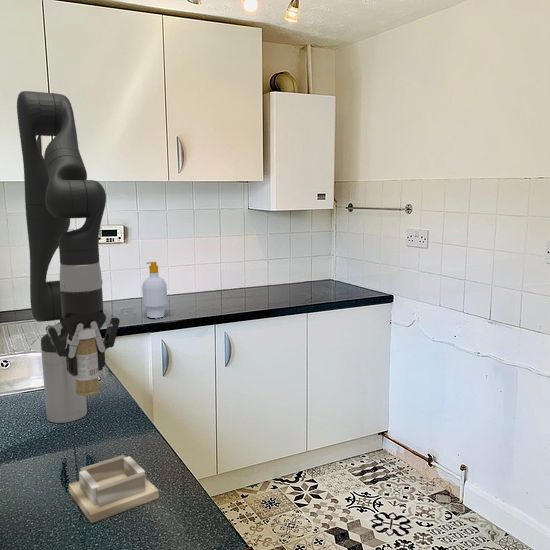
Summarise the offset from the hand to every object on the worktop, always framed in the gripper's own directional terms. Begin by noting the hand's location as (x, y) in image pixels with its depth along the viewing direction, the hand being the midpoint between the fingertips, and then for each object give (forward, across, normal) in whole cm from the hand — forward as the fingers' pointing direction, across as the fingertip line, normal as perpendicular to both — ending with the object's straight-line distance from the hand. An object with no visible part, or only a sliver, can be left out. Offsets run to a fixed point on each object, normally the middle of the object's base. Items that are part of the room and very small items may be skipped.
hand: (86, 371), depth 106 cm
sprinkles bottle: (+5, 0, 0) cm, 5 cm away
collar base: (+19, +1, +14) cm, 24 cm away
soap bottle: (+21, -65, -110) cm, 129 cm away
